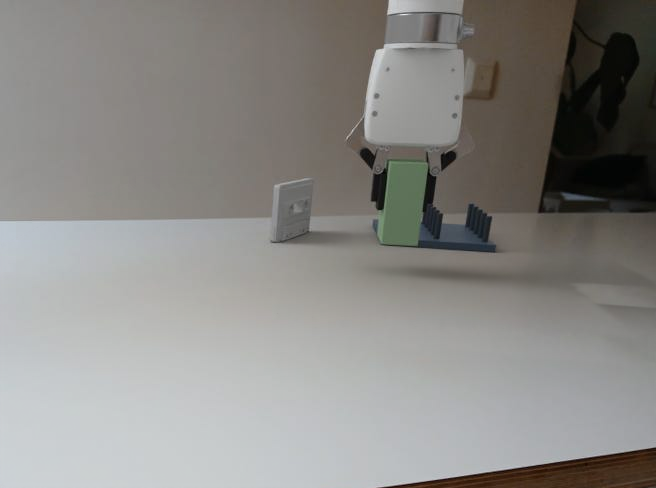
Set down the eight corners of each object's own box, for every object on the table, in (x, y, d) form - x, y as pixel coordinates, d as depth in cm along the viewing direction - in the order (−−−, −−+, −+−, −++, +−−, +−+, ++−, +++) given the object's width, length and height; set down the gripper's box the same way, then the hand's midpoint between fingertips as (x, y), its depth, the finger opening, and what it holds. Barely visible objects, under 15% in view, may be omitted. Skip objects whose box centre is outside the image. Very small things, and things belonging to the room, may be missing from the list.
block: (411, 236, 88) (421, 158, 85) (417, 246, 83) (428, 163, 80) (376, 234, 89) (385, 157, 86) (381, 244, 83) (390, 162, 80)
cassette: (278, 243, 100) (283, 185, 98) (266, 241, 101) (270, 184, 99) (312, 231, 110) (317, 178, 107) (300, 229, 111) (305, 177, 108)
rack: (471, 231, 115) (476, 202, 113) (495, 252, 100) (501, 218, 98) (372, 225, 117) (376, 196, 115) (381, 244, 102) (385, 212, 100)
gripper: (496, 38, 81) (470, 208, 87) (339, 37, 83) (325, 202, 89) (513, 33, 74) (483, 218, 80) (342, 32, 76) (326, 211, 82)
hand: (400, 207), depth 85 cm, fingers closed on block, 4 cm apart
